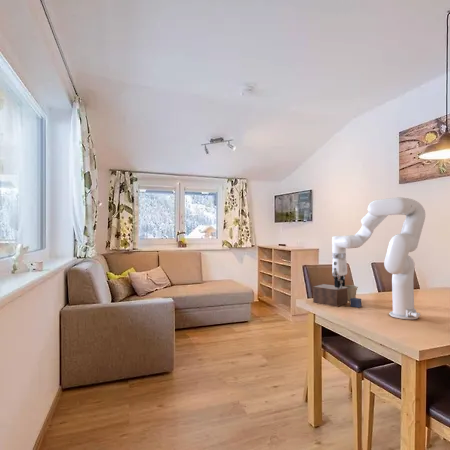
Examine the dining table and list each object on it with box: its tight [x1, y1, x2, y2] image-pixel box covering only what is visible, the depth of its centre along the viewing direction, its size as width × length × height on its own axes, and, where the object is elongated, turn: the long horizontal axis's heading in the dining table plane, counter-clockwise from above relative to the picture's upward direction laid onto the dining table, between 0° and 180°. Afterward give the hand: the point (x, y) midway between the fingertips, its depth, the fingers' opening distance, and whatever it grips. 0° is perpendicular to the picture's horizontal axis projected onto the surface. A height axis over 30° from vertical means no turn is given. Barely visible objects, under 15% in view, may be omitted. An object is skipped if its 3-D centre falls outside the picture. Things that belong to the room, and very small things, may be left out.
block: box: [349, 297, 363, 309], centre depth 175 cm, size 4×4×4 cm
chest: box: [312, 287, 349, 307], centre depth 185 cm, size 16×13×9 cm
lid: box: [312, 280, 349, 291], centre depth 185 cm, size 17×13×5 cm
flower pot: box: [343, 284, 359, 302], centre depth 192 cm, size 9×9×9 cm
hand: (339, 286), depth 181 cm, fingers closed on lid, 5 cm apart
